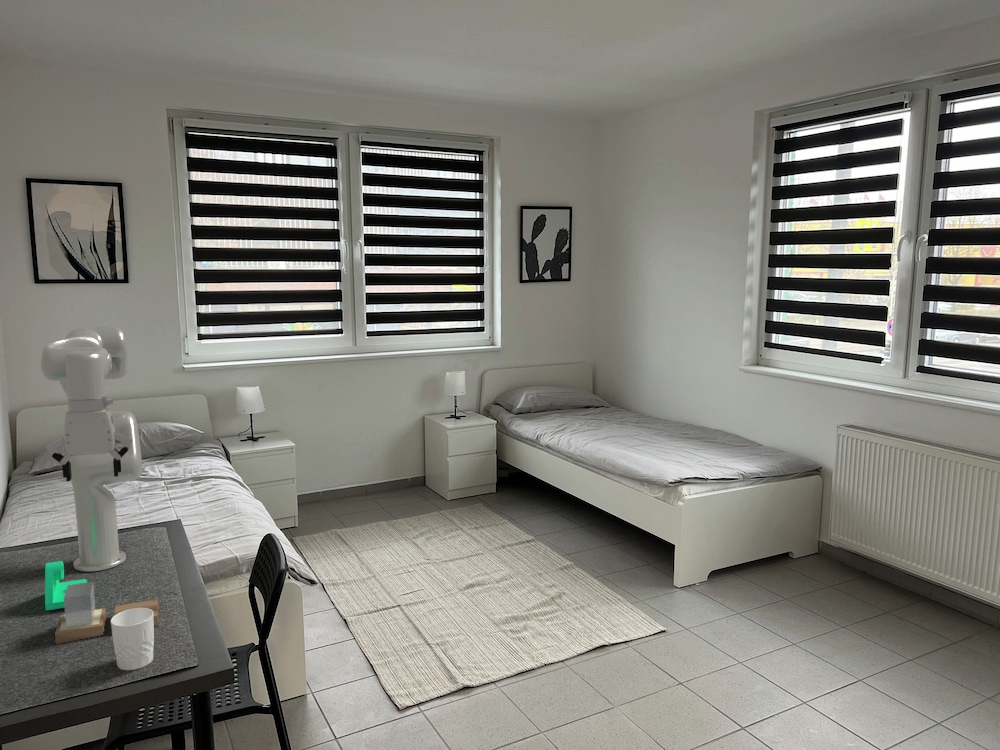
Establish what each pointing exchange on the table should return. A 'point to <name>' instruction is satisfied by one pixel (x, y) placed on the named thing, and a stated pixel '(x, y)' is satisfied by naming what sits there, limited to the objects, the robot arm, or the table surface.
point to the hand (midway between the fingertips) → (93, 477)
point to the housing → (79, 604)
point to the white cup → (133, 638)
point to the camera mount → (56, 585)
